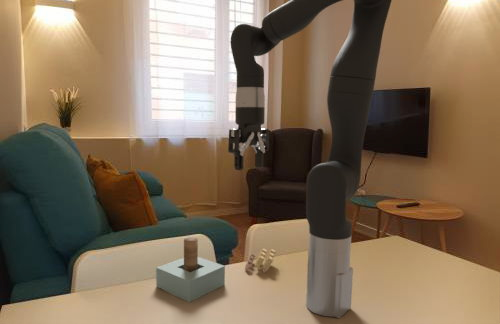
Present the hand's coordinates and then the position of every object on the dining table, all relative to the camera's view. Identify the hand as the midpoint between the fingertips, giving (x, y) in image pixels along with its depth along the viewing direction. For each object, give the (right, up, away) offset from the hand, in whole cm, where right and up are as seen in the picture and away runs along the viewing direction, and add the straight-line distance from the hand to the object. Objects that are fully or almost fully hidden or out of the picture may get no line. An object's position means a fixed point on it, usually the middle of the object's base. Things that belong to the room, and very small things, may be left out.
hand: (249, 168), depth 99 cm
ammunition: (+3, -29, +9) cm, 30 cm away
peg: (-15, -30, -4) cm, 33 cm away
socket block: (-15, -30, -4) cm, 33 cm away
